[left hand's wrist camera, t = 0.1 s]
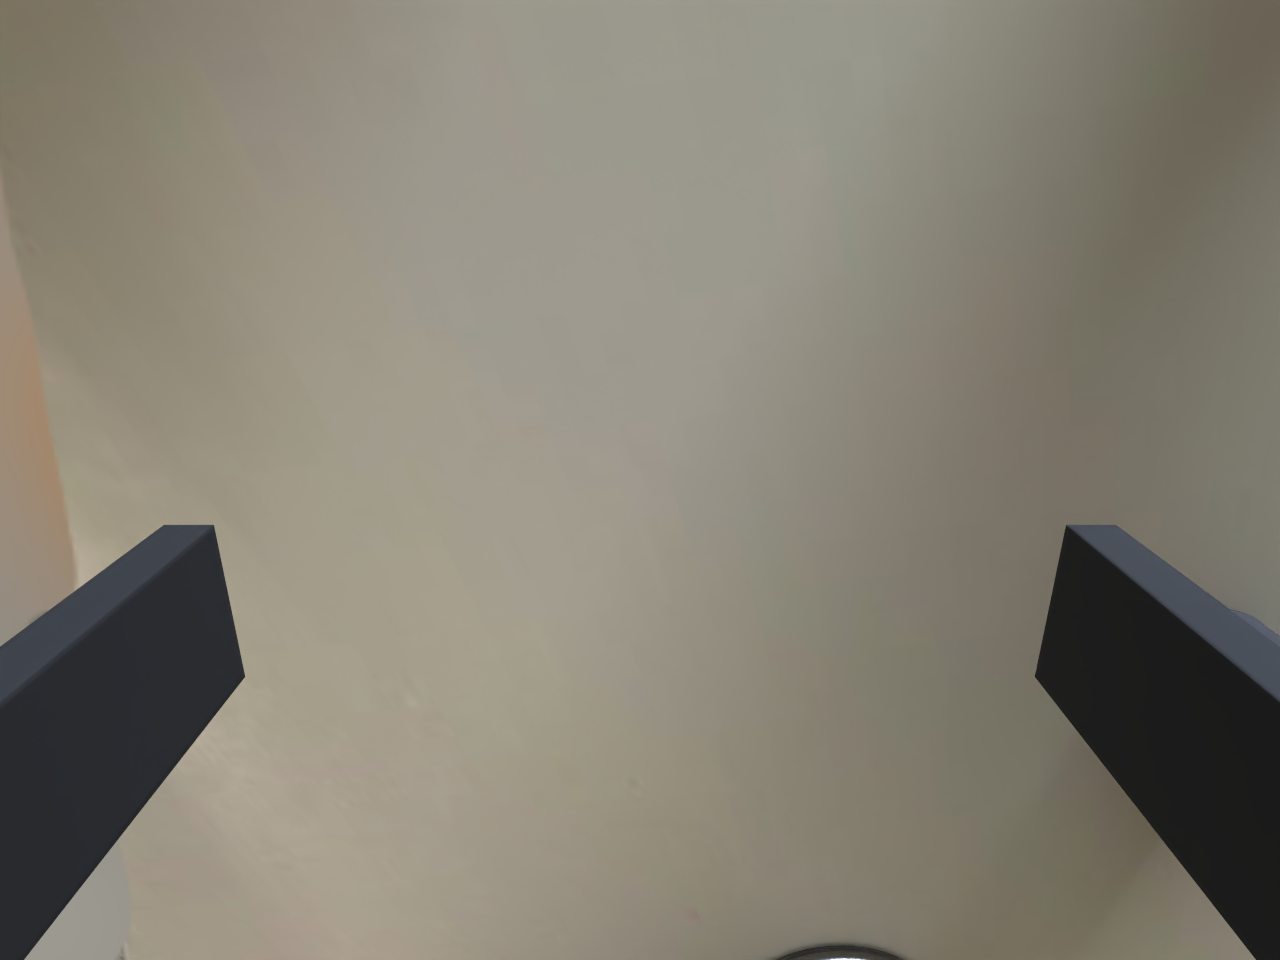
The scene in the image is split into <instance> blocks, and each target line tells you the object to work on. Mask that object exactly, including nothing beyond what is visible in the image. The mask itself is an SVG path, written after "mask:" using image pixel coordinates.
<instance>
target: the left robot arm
mask: <svg viewBox="0 0 1280 960" xmlns="http://www.w3.org/2000/svg"><path fill="white" fill-rule="evenodd" d="M244 677H245V674H244V669H243V664H242V659H241V655H240V650H239V645H238V640H237V635H236V630H235V626H234V621H233V616H232V611H231V606H230V601H229V596H228V592H227V587H226V582H225V577H224V572H223V567H222V562H221V558H220V553H219V548H218V543H217V538H216V533H215V529H214V525H163V526H162V527H161V528H159V529H158V530H157V531H155V532H154V533H153V534H151V535H150V536H149V537H147V538H146V539H145V540H143V541H142V542H141V543H139V544H138V545H136V546H135V547H134V548H132V549H131V550H130V551H128V552H127V553H126V554H124V555H123V556H122V557H120V558H119V559H118V560H116V561H115V562H114V563H112V564H111V565H110V566H108V567H107V568H106V569H104V570H103V571H101V572H100V573H99V574H97V575H96V576H95V577H93V578H92V579H91V580H89V581H88V582H87V583H85V584H84V585H83V586H81V587H80V588H79V589H77V590H76V591H75V592H73V593H72V594H71V595H69V596H68V597H66V598H65V599H64V600H62V601H61V602H60V603H58V604H57V605H56V606H54V607H53V608H52V609H50V610H49V611H48V612H46V613H45V614H44V615H42V616H41V617H40V618H38V619H37V620H36V621H34V622H33V623H31V624H30V625H29V626H27V627H26V628H25V629H23V630H22V631H21V632H19V633H18V634H17V635H15V636H14V637H13V638H11V639H10V640H9V641H7V642H6V643H5V644H3V645H2V646H1V647H0V960H24V959H25V958H26V956H27V955H28V954H29V952H30V951H31V950H32V949H33V947H34V946H35V945H36V944H37V942H38V941H39V940H40V938H41V937H42V936H43V935H44V933H45V932H46V931H47V929H48V928H49V927H50V926H51V924H52V923H53V922H54V921H55V919H56V918H57V917H58V915H59V914H60V913H61V911H62V910H63V909H64V908H65V906H66V905H67V904H68V903H69V901H70V900H71V899H72V897H73V896H74V895H75V894H76V892H77V891H78V890H79V888H80V887H81V886H82V885H83V883H84V882H85V881H86V879H87V878H88V877H89V876H90V874H91V873H92V872H93V871H94V869H95V868H96V867H97V865H98V864H99V863H100V862H101V860H102V859H103V858H104V856H105V855H106V854H107V853H108V851H109V850H110V849H111V848H112V846H113V845H114V844H115V842H116V841H117V840H118V839H119V837H120V836H121V835H122V834H123V832H124V831H125V830H126V828H127V827H128V826H129V825H130V823H131V822H132V821H133V819H134V818H135V817H136V816H137V814H138V813H139V812H140V810H141V809H142V808H143V807H144V805H145V804H146V803H147V802H148V800H149V799H150V798H151V796H152V795H153V794H154V793H155V791H156V790H157V789H158V787H159V786H160V785H161V784H162V782H163V781H164V780H165V779H166V777H167V776H168V775H169V773H170V772H171V771H172V770H173V768H174V767H175V766H176V764H177V763H178V762H179V761H180V759H181V758H182V757H183V755H184V754H185V753H186V752H187V750H188V749H189V748H190V747H191V745H192V744H193V743H194V741H195V740H196V739H197V738H198V736H199V735H200V734H201V732H202V731H203V730H204V729H205V727H206V726H207V725H208V723H209V722H210V721H211V720H212V718H213V717H214V716H215V715H216V713H217V712H218V711H219V709H220V708H221V707H222V706H223V704H224V703H225V702H226V700H227V699H228V698H229V697H230V695H231V694H232V693H233V692H234V690H235V689H236V688H237V686H238V685H239V684H240V683H241V681H242V680H243V679H244ZM1035 677H1036V679H1037V680H1038V681H1039V683H1040V684H1041V685H1042V686H1043V688H1044V689H1045V690H1046V692H1047V693H1048V694H1049V695H1050V697H1051V698H1052V699H1053V700H1054V702H1055V703H1056V704H1057V706H1058V707H1059V708H1060V709H1061V711H1062V712H1063V713H1064V715H1065V716H1066V717H1067V718H1068V720H1069V721H1070V722H1071V723H1072V725H1073V726H1074V727H1075V729H1076V730H1077V731H1078V732H1079V734H1080V735H1081V736H1082V738H1083V739H1084V740H1085V741H1086V743H1087V744H1088V745H1089V747H1090V748H1091V749H1092V750H1093V752H1094V753H1095V754H1096V755H1097V757H1098V758H1099V759H1100V761H1101V762H1102V763H1103V764H1104V766H1105V767H1106V768H1107V770H1108V771H1109V772H1110V773H1111V775H1112V776H1113V777H1114V779H1115V780H1116V781H1117V782H1118V784H1119V785H1120V786H1121V787H1122V789H1123V790H1124V791H1125V793H1126V794H1127V795H1128V796H1129V798H1130V799H1131V800H1132V802H1133V803H1134V804H1135V805H1136V807H1137V808H1138V809H1139V810H1140V812H1141V813H1142V814H1143V816H1144V817H1145V818H1146V819H1147V821H1148V822H1149V823H1150V825H1151V826H1152V827H1153V828H1154V830H1155V831H1156V832H1157V834H1158V835H1159V836H1160V837H1161V839H1162V840H1163V841H1164V842H1165V844H1166V845H1167V846H1168V848H1169V849H1170V850H1171V851H1172V853H1173V854H1174V855H1175V857H1176V858H1177V859H1178V860H1179V862H1180V863H1181V864H1182V865H1183V867H1184V868H1185V869H1186V871H1187V872H1188V873H1189V874H1190V876H1191V877H1192V878H1193V880H1194V881H1195V882H1196V883H1197V885H1198V886H1199V887H1200V889H1201V890H1202V891H1203V892H1204V894H1205V895H1206V896H1207V897H1208V899H1209V900H1210V901H1211V903H1212V904H1213V905H1214V906H1215V908H1216V909H1217V910H1218V912H1219V913H1220V914H1221V915H1222V917H1223V918H1224V919H1225V921H1226V922H1227V923H1228V924H1229V926H1230V927H1231V928H1232V929H1233V931H1234V932H1235V933H1236V935H1237V936H1238V937H1239V938H1240V940H1241V941H1242V942H1243V944H1244V945H1245V946H1246V947H1247V949H1248V950H1249V951H1250V952H1251V954H1252V955H1253V956H1254V958H1255V959H1256V960H1280V647H1279V646H1278V645H1277V644H1275V643H1274V642H1273V641H1271V640H1270V639H1269V638H1267V637H1266V636H1265V635H1263V634H1262V633H1261V632H1259V631H1258V630H1257V629H1255V628H1254V627H1253V626H1251V625H1250V624H1249V623H1247V622H1246V621H1244V620H1243V619H1242V618H1240V617H1239V616H1238V615H1236V614H1235V613H1234V612H1232V611H1231V610H1230V609H1228V608H1227V607H1226V606H1224V605H1223V604H1222V603H1220V602H1219V601H1218V600H1216V599H1215V598H1214V597H1212V596H1211V595H1209V594H1208V593H1207V592H1205V591H1204V590H1203V589H1201V588H1200V587H1199V586H1197V585H1196V584H1195V583H1193V582H1192V581H1191V580H1189V579H1188V578H1187V577H1185V576H1184V575H1183V574H1181V573H1180V572H1179V571H1177V570H1176V569H1174V568H1173V567H1172V566H1170V565H1169V564H1168V563H1166V562H1165V561H1164V560H1162V559H1161V558H1160V557H1158V556H1157V555H1156V554H1154V553H1153V552H1152V551H1150V550H1149V549H1148V548H1146V547H1145V546H1144V545H1142V544H1141V543H1139V542H1138V541H1137V540H1135V539H1134V538H1133V537H1131V536H1130V535H1129V534H1127V533H1126V532H1125V531H1123V530H1122V529H1121V528H1119V527H1118V526H1117V525H1066V529H1065V533H1064V538H1063V543H1062V548H1061V553H1060V558H1059V562H1058V567H1057V572H1056V577H1055V582H1054V587H1053V592H1052V596H1051V601H1050V606H1049V611H1048V616H1047V621H1046V626H1045V630H1044V635H1043V640H1042V645H1041V650H1040V655H1039V659H1038V664H1037V669H1036V674H1035ZM777 960H902V959H900V958H898V957H896V956H894V955H891V954H888V953H885V952H882V951H878V950H875V949H870V948H864V947H856V946H827V947H818V948H812V949H807V950H803V951H799V952H795V953H792V954H789V955H786V956H784V957H782V958H779V959H777Z"/></svg>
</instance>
